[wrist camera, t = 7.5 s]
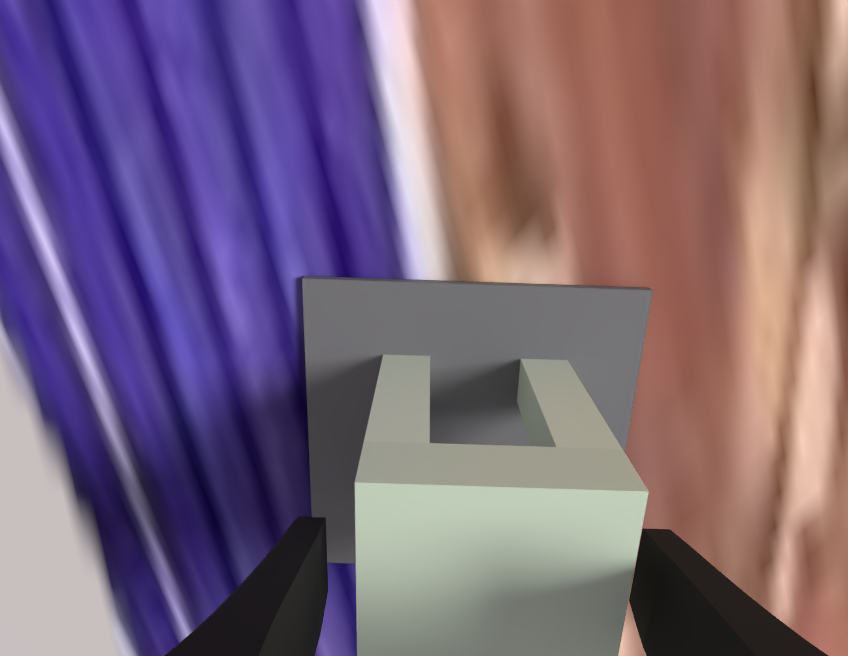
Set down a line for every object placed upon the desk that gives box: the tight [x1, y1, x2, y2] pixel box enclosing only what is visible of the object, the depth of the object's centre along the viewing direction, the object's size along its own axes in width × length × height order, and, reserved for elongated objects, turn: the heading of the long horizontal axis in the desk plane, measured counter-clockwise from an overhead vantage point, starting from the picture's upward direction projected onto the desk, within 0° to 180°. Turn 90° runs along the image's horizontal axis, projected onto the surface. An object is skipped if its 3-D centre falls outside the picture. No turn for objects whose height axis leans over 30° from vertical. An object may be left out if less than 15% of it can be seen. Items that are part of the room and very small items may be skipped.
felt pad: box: [302, 276, 653, 564], centre depth 18 cm, size 10×10×1 cm
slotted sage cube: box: [355, 355, 649, 656], centre depth 14 cm, size 6×6×6 cm
